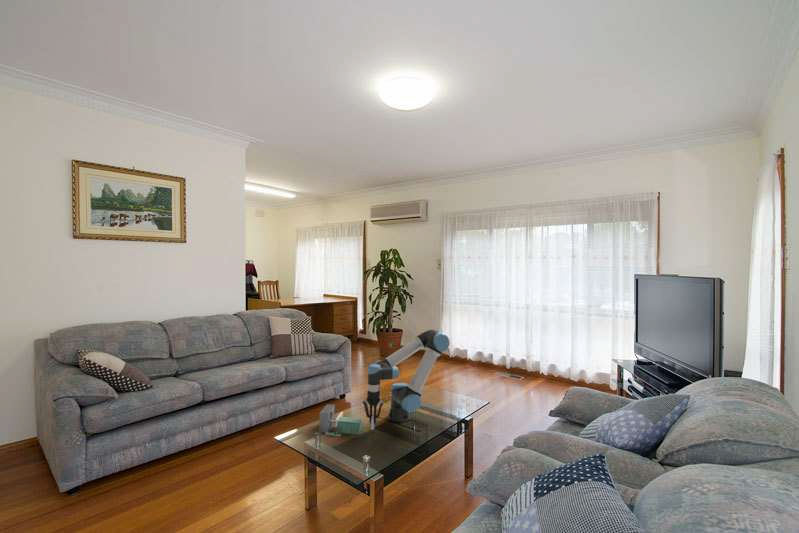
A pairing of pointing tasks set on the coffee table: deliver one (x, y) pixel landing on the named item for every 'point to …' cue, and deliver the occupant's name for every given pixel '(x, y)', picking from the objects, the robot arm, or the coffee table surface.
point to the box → (349, 425)
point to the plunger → (336, 422)
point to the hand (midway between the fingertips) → (372, 428)
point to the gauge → (327, 420)
